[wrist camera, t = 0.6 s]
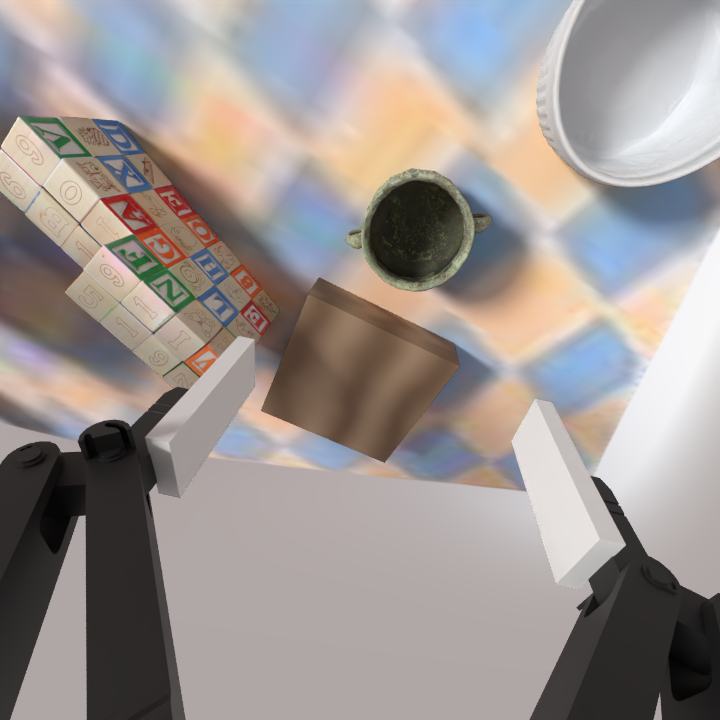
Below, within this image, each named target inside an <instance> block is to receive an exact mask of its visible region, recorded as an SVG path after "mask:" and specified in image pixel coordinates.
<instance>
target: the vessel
mask: <svg viewBox="0 0 720 720" xmlns="http://www.w3.org/2000/svg"><path fill="white" fill-rule="evenodd" d="M491 223H492V218H491V216H489V215H487V214H484V213H472V212H471V209H470V207H469V205H468V202H467V201H466V200H465V198H464V197H463V196H462V195H461V193H460V192H459V191H458V190H457V188H456V187H455V186H454V184H453V183H452V182H451V180H449V179H448V178H446V177H444V176H442V175H441V174H439V173H437V172H435V171H429V170H420V169H409V170H407V171H405V172H402V173H400V174H397V175H395V176H393V177H390V178H389V179H388V180H387V181H386V182H385V183H384V184H383V185H382V186H381V187H380V188H379V189H378V190H377V192H376V193H375V195H374V197H373V199H372V201H371V203H370V205H369V207H368V209H367V212H366V215H365V217H364V221H363V225H362V227H361V228H358V229H355V230H352V231H350V232H349V233H348V234H347V235H346V236H345V242H346V243H347V244H349V245H351V246H352V247H353V248H357V249H359V248H362V249H363V253H364V255H365V258H366V260H367V262H368V264H369V265H370V267H371V269H372V270H373V271H374V272H375V273H376V274H377V275H378V276H379V277H380V278H381V279H382V280H383V281H384V282H386V283H388V284H390V285H392V286H394V287H396V288H398V289H402V290H408V291H414V292H415V291H426V290H429V289H432V288H434V287H437V286H439V285H442V284H443V283H444V282H446V281H447V280H449V279H450V278H451V277H453V276H454V275H455V274H456V273H457V271H458V270H459V269H460V267H461V266H462V265H463V263H464V262H465V260H466V259H467V257H468V255H469V253H470V251H471V248H472V244H473V241H474V234H475V233H479V232H482V231H483V230H484V229H485V228H486V227H488V226H489V225H490V224H491Z"/></svg>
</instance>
